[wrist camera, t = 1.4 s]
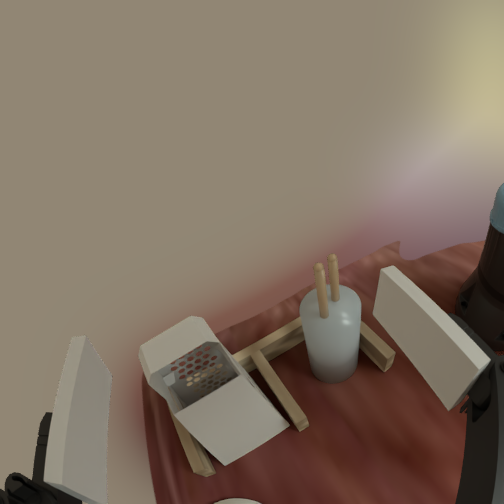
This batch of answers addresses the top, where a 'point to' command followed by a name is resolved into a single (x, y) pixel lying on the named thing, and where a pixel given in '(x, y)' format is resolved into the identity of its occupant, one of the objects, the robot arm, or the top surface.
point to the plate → (237, 501)
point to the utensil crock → (331, 325)
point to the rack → (272, 380)
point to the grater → (217, 401)
